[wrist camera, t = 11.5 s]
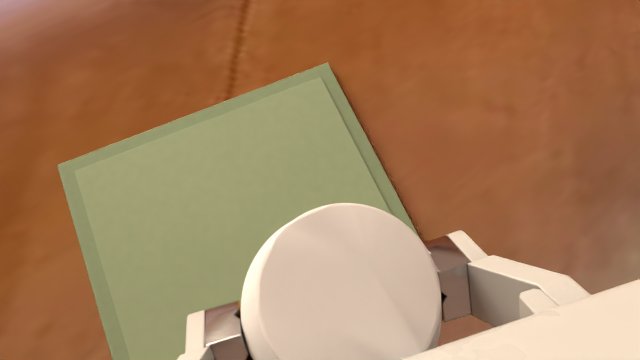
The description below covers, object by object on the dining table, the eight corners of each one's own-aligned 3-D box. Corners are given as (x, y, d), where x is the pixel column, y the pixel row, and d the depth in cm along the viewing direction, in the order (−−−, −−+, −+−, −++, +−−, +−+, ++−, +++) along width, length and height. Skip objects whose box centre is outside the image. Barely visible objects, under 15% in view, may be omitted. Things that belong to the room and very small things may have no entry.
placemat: (327, 65, 36) (327, 61, 36) (445, 291, 31) (448, 290, 30) (59, 167, 33) (55, 164, 33) (137, 437, 28) (133, 438, 27)
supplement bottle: (357, 232, 21) (390, 132, 12) (427, 351, 19) (529, 343, 10) (242, 295, 20) (179, 239, 11) (305, 425, 18) (294, 492, 9)
